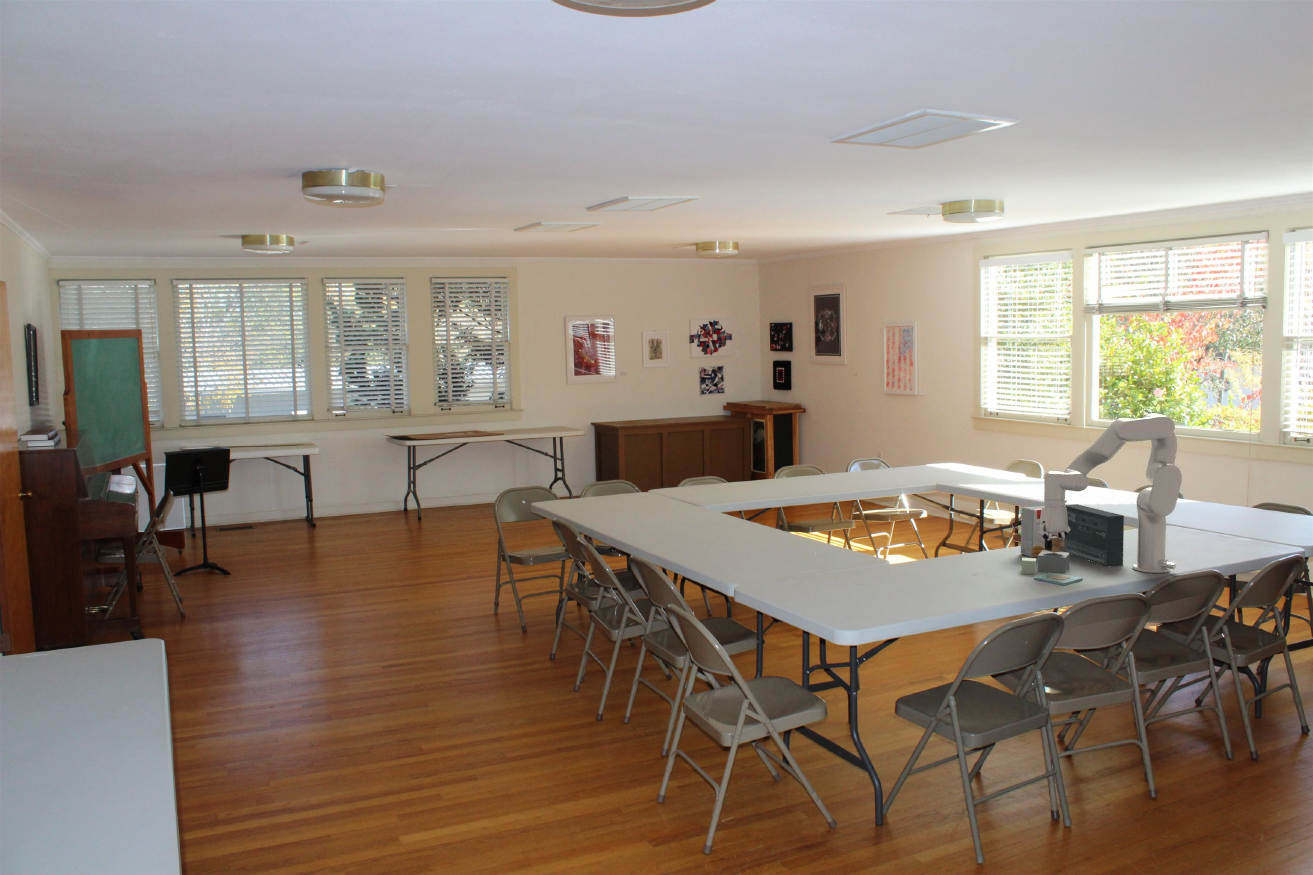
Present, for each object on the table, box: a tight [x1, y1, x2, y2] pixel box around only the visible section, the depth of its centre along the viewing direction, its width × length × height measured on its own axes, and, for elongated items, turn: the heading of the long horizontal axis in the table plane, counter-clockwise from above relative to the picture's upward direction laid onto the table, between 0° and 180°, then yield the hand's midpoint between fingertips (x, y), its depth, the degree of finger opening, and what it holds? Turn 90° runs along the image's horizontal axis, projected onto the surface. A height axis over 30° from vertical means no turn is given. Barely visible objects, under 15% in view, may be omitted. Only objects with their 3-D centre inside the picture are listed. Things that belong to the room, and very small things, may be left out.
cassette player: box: [1063, 503, 1125, 568], centre depth 376 cm, size 29×7×20 cm, turn 10°
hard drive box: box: [1020, 505, 1061, 558], centre depth 385 cm, size 16×8×20 cm, turn 105°
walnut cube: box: [1044, 536, 1064, 553], centre depth 361 cm, size 5×5×5 cm
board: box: [1033, 571, 1083, 586], centre depth 344 cm, size 12×12×1 cm
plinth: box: [1037, 550, 1071, 573], centre depth 361 cm, size 10×10×6 cm
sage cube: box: [1021, 557, 1037, 575], centre depth 357 cm, size 5×5×5 cm
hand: (1054, 548), depth 361 cm, fingers closed on walnut cube, 4 cm apart
